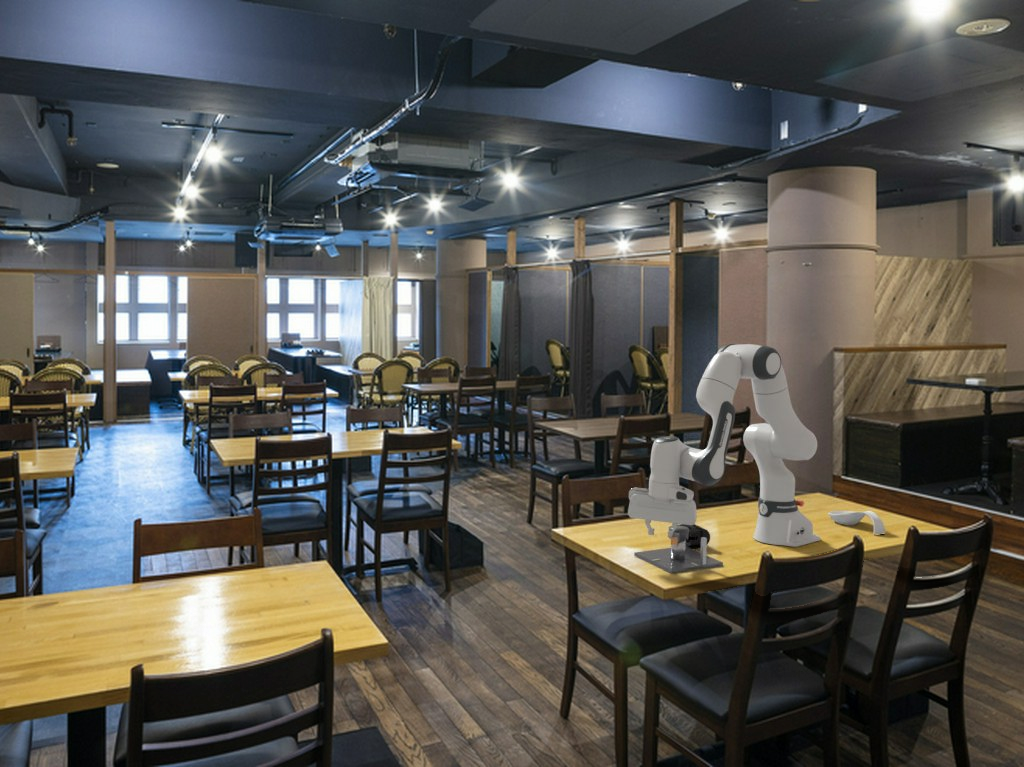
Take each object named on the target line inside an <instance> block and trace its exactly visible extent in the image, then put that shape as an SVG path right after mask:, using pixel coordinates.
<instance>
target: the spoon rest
mask: <svg viewBox="0 0 1024 767" xmlns="http://www.w3.org/2000/svg"><path fill="white" fill-rule="evenodd" d="M827 515H828V516H829V517H830V519H831V520H833V521H834V522H836V523H837V524H839V525H842V524H844V525H843V526H855V525H857V524H858V523H860V522H861V521H862V520H863V519H864V517H865V516H867V517H868V518H869V519H870V520H871V521H872V524H873V535H874V534H882V533H887V532H886V527H885V525H884V522H883V520H882V519H881V517H879V515H878V514H877V513H875V512H874V511H872V510H866V511H854V510H852V511H851V510H833V511H832V510H831V511H829V512H828V514H827ZM854 524H855V525H854Z"/></svg>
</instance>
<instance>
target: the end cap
mask: <svg viewBox="0 0 1024 767" xmlns="http://www.w3.org/2000/svg"><path fill="white" fill-rule="evenodd" d="M678 526H685V527H688V528H689V538H688V539H687V540H686V547H688V548H690V549H692V550H701V538H702V537H705V538H707V545H708V544H709V543H710V541H711V534H710V532H709V530H707V528H706V529H705V528H703V527H702V526H700V525H697V524H696V523H695V524H694V525H692V526H691V525H683V524H678Z"/></svg>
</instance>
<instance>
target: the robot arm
mask: <svg viewBox="0 0 1024 767" xmlns="http://www.w3.org/2000/svg"><path fill="white" fill-rule="evenodd" d="M741 379H742V380H750V381H751V389H752V394H753V400H754V405H755V410H756V413H757V414H758V415H759V417H760V418H762V419H763V420H764V421H766V422H767V423H766V422H764V423H763V422H760V423H752V424H750V425H749V426H748V427H746V429H745V431H744V432H743V436H742V437H743V439H742V441H743V445H744V447H745V448H746V450H747V451H748V452H749V453H750V454H751V456H752V457H753V459H754V460H755V463H756V465H757V468H758V471H759V483H760V485H759V488H760V489H759V490H760V491H759V497H758V501H757V508H758V512H757V519H756V527H755V530H754V533H753V537H752V538H753V539H754V540H756V541H757V542H760V543H764V544H770V545H775V546H776V545H777V546H787V547H794V548H795V547H796V548H797V547H800V546H804V545H807V544H808V545H809V544H812V543H815V542H819V541H821V537H820V535H817V534H816V533H814V526H813V523H812V521H811V520H810V519H809V518H808V517H807V516H805V515H804V514H803V513H802V512H801V511H800V510H799V507H800V508H801V507H804V505H805V501H804V500H801V499H797V500H796V499H795V498H796V497H795V496H796V495H795V494H796V491H795V489H796V477H795V474H793V472H792V471H791V470H790V469H788V468H787V466H786V465H785V463H784V461H783V460H788V461H794V462H795V461H796V462H797V461H809V460H810V459H812V458H813V457H814V456H815V454H816V452H817V449H818V440H817V437H816V435H815V434H814V433H813V432H812V431H811V430H810V429H808V428H807V427H806V426H805V425H804V424H803V423H802V421H801V419H800V418H799V417H798V416H797V413H796V411H795V410H794V408H793V405H792V401H791V397H790V392H789V386H788V381H787V377H786V373H785V370H784V367H783V365H782V359H781V355H780V353H779V352H778V350H776V348H773V347H772V346H771V347H770V346H768V345H759V344H752V343H751V344H750V343H748V344H747V343H746V344H743V343H742V344H735V343H730V344H725V345H722V346H721V347H720V348H719V349H718V351H717V352H716V354H714V355H713V357H712V358H711V359H710V361H709V362H708V364H707V367H706V368H705V370H704V372H703V374H702V377H701V378H700V381H699V384H698V386H697V389H696V394H695V398H696V401H697V404H698V405H699V407H700V408H701V409H702V410H703V411H704V412H705V413H707V414H708V415H709V416H710V417H711V419H712V428H711V431H710V436H709V439H708V444H707V447H705V449H701V448H694V447H691V446H689V445H687V444H685V443H684V442H682V441H681V440H680V438H679V437H677V436H673V435H667V436H666V435H663V436H660V437H657V438H656V439H655V440H654V441H653V443H652V447H651V453H650V463H649V467H650V475H649V479H648V480H649V481H648V488H645V487H643V488H642V487H636V486H635V487H633V488H631V489H629V491H628V499H629V505H628V508H627V515H628V516H629V518H631V519H639V520H645V521H644V524H645V525H646V528H647V529H648V530H647V535H649V536H654V534H655V528H653V527H652V526H651V522H652V521H653V522H654V521H655V522H661V523H669V524H670V523H671V526H672V527H674V528H673V529H672V531H669V530H668V531H667V538H669V539H670V538H671V537H672V535H673V534H674V531H675V529H676V528H677V526H678V525H681V524H683V525H691V526H692V525H694V524H695V525H696V523H697V506H696V505H697V504H696V501H695V500H694V496H695V495H694V493H695V492H694V491H693V490H691V489H689V488H686V487H684V486H682V485H680V478H682V479H685V480H688V481H689V480H690V481H692V482H696V483H699V484H701V485H703V486H707V487H709V486H710V487H711V486H713V485H716V484H717V483H719V481H721V479H722V478H723V476H724V474H725V471H726V458H727V454H728V449H729V444H730V440H731V436H732V432H733V427H734V424H735V418H736V409H735V406H734V405H733V404H734V403H733V402H734V396H735V393H736V391H737V388H738V386H739V382H740V380H741ZM798 506H799V507H798Z"/></svg>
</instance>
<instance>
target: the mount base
mask: <svg viewBox="0 0 1024 767" xmlns="http://www.w3.org/2000/svg"><path fill="white" fill-rule="evenodd" d="M707 545H708V544H707V538H705V537H702V538H701V549H700V552H699V551H697V550H696V549H694V550H692V549H690V548H688V547H686V540H679V542H678V544H677V545H672V544H671V543H670V547H666V548H659V549H658V548H657V549H651V550H645V551H644V550H643V551H635V552H634V553H633V554H634V557H635V558H638V559H640V560H643V561H645V562H647V563H649V564H650V565H653V566H654V567H657V568H659V569H661V570H663V571H665V572H667V573H670V574H676V573H678V574H679V573H683V572H691V571H697V569H698V570H702V569H703V570H704V569H711V568H717V567H722V566H723V565H724V562H723V561H720V560H718V559H717V558H716V559H715V558H713V557H711V556H709V555H707V548H708V546H707ZM710 567H711V568H710Z"/></svg>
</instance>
